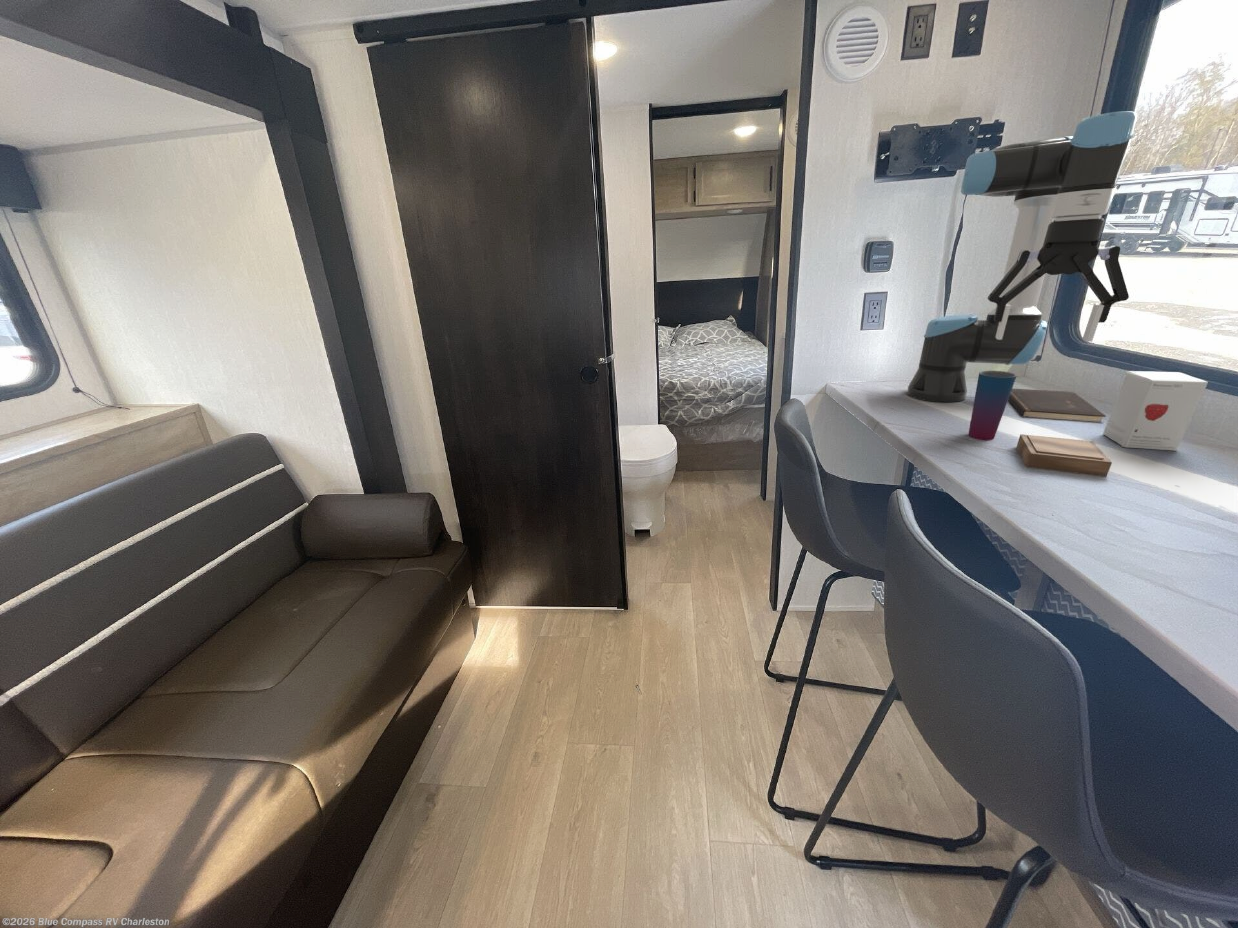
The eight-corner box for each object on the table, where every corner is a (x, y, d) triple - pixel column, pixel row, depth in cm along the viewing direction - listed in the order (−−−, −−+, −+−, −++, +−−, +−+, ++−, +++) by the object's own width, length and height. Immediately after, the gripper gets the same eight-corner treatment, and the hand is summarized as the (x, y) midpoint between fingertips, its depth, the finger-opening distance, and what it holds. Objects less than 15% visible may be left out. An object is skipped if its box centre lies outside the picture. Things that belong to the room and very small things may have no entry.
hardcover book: (1071, 399, 136) (1073, 391, 135) (1102, 424, 117) (1106, 415, 116) (1002, 395, 143) (1004, 388, 142) (1021, 418, 124) (1024, 410, 123)
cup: (1005, 441, 109) (1023, 377, 103) (971, 441, 111) (988, 377, 105) (990, 431, 115) (1006, 370, 109) (958, 431, 117) (973, 370, 111)
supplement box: (1123, 448, 103) (1150, 379, 97) (1101, 434, 110) (1125, 370, 104) (1179, 451, 100) (1210, 381, 94) (1152, 437, 107) (1180, 371, 101)
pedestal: (1016, 446, 106) (1020, 433, 105) (1087, 454, 101) (1093, 439, 99) (1026, 466, 97) (1031, 452, 95) (1106, 476, 91) (1112, 460, 90)
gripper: (994, 224, 88) (966, 340, 96) (1186, 211, 76) (1135, 344, 85) (988, 225, 94) (963, 334, 102) (1165, 213, 82) (1120, 337, 91)
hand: (1041, 339), depth 94 cm, fingers open, 13 cm apart
